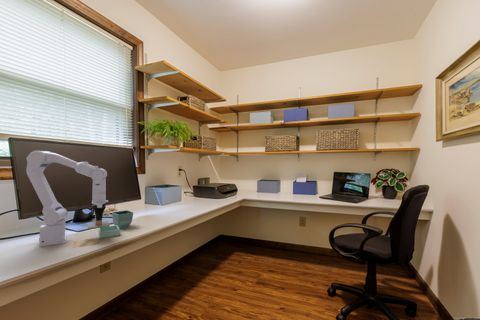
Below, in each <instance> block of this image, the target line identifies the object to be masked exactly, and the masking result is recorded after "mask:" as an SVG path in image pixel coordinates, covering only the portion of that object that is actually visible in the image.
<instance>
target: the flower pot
mask: <svg viewBox="0 0 480 320" xmlns="http://www.w3.org/2000/svg"><path fill="white" fill-rule="evenodd" d="M111 213H112V222H113V224H114V225H113V226H115V225H118V227H119V229H120V230H121V229H125V228H129V227H130V226H131V224H132V222H133V218H134V211H130V210H121V211H113V212H111Z"/></svg>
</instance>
